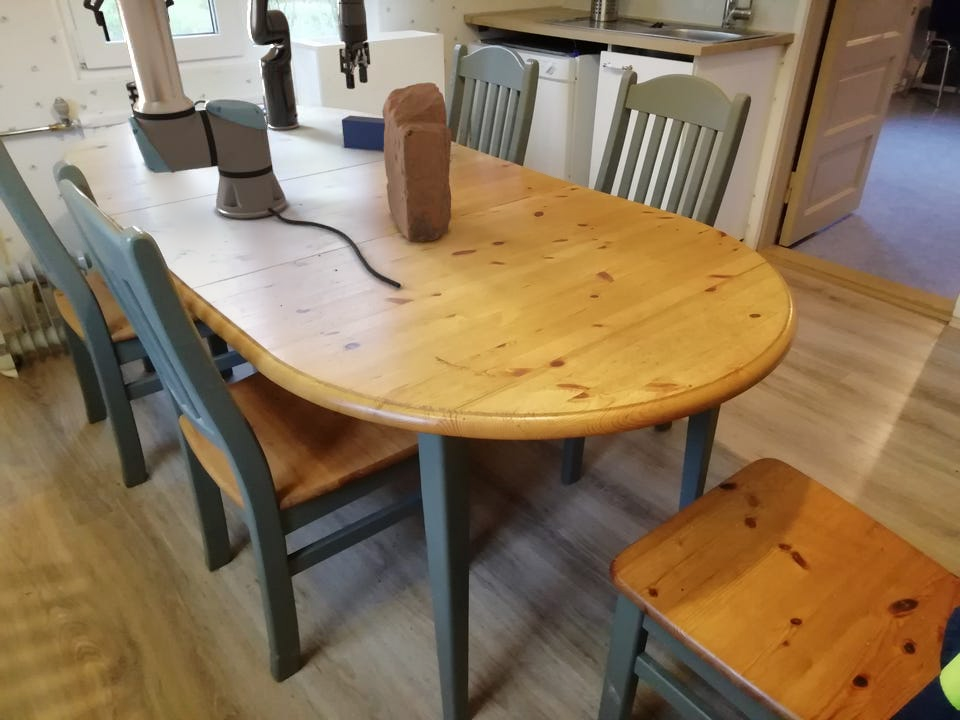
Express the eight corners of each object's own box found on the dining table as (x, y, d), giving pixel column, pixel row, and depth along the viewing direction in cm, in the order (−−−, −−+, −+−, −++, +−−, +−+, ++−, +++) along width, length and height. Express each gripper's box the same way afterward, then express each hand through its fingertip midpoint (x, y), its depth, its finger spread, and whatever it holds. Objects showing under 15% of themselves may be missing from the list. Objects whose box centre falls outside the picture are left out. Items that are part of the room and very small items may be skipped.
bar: (431, 150, 199) (430, 122, 195) (425, 155, 195) (424, 126, 191) (352, 142, 205) (349, 115, 201) (344, 147, 200) (341, 119, 196)
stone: (462, 239, 143) (459, 96, 128) (408, 246, 140) (400, 100, 125) (434, 208, 160) (429, 79, 146) (387, 213, 157) (377, 82, 143)
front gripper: (167, -61, 169) (186, 34, 180) (53, -61, 158) (81, 40, 170) (173, -61, 164) (192, 37, 175) (55, -60, 153) (84, 44, 164)
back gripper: (350, 17, 190) (355, 80, 199) (327, 24, 179) (333, 89, 188) (375, 19, 189) (379, 81, 198) (353, 25, 177) (359, 91, 186)
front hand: (137, 39), depth 172 cm, fingers open, 13 cm apart
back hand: (357, 85), depth 193 cm, fingers open, 8 cm apart
